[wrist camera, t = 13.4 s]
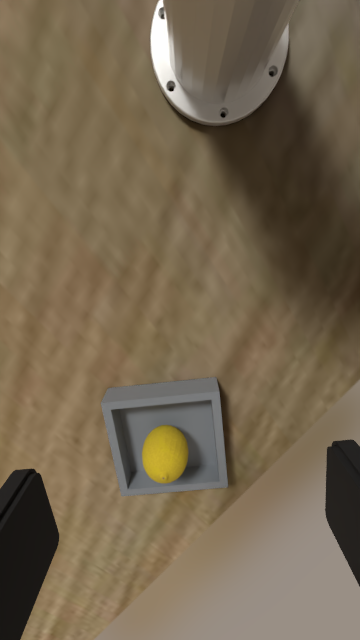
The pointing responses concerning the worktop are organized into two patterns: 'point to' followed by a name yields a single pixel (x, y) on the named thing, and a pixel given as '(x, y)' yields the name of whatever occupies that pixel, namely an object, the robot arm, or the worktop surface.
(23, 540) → the robot arm
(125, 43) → the worktop surface
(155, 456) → the lemon
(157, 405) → the box
